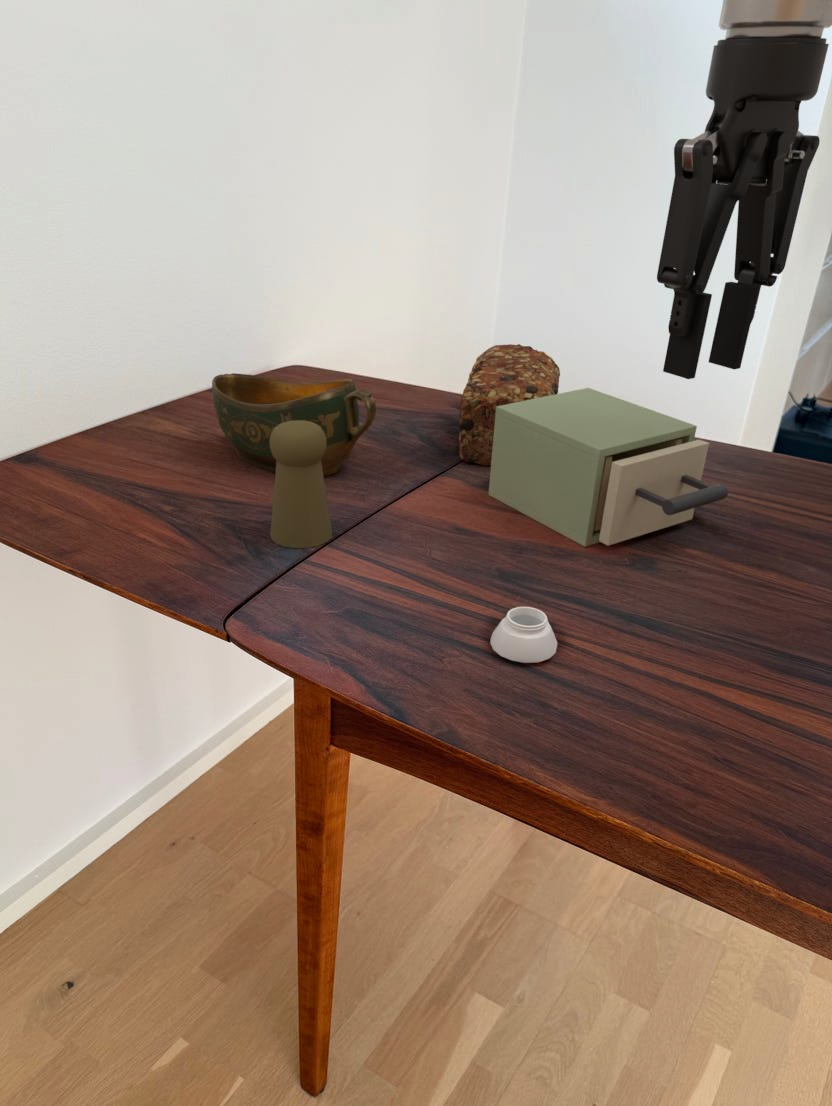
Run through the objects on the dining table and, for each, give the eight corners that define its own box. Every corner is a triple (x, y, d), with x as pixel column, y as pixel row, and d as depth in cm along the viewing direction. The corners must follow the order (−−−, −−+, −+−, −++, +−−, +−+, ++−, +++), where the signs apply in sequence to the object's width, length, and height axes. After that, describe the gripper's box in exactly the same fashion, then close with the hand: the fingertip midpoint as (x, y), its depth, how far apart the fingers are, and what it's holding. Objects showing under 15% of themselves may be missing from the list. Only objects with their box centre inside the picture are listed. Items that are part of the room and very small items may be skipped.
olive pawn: (270, 522, 88) (264, 414, 82) (330, 520, 88) (329, 412, 82) (269, 549, 83) (263, 436, 77) (333, 547, 83) (332, 434, 77)
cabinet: (677, 518, 89) (697, 425, 83) (584, 547, 83) (600, 449, 78) (576, 472, 99) (588, 387, 94) (488, 495, 94) (495, 406, 89)
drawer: (732, 537, 83) (752, 458, 79) (646, 566, 78) (662, 483, 74) (594, 475, 96) (605, 404, 92) (513, 496, 91) (521, 423, 87)
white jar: (567, 647, 68) (512, 625, 71) (572, 614, 67) (515, 593, 70) (534, 675, 65) (478, 651, 68) (539, 641, 64) (481, 618, 66)
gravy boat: (276, 503, 92) (271, 408, 86) (208, 445, 107) (200, 360, 101) (382, 481, 97) (384, 390, 92) (304, 428, 112) (301, 347, 106)
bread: (474, 415, 116) (480, 337, 111) (556, 421, 114) (566, 343, 109) (452, 465, 101) (458, 378, 96) (546, 473, 99) (557, 385, 93)
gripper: (805, 39, 68) (735, 346, 81) (640, 34, 60) (591, 374, 73) (899, 35, 63) (808, 365, 75) (731, 29, 55) (661, 397, 67)
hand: (701, 369), depth 74 cm, fingers open, 5 cm apart
